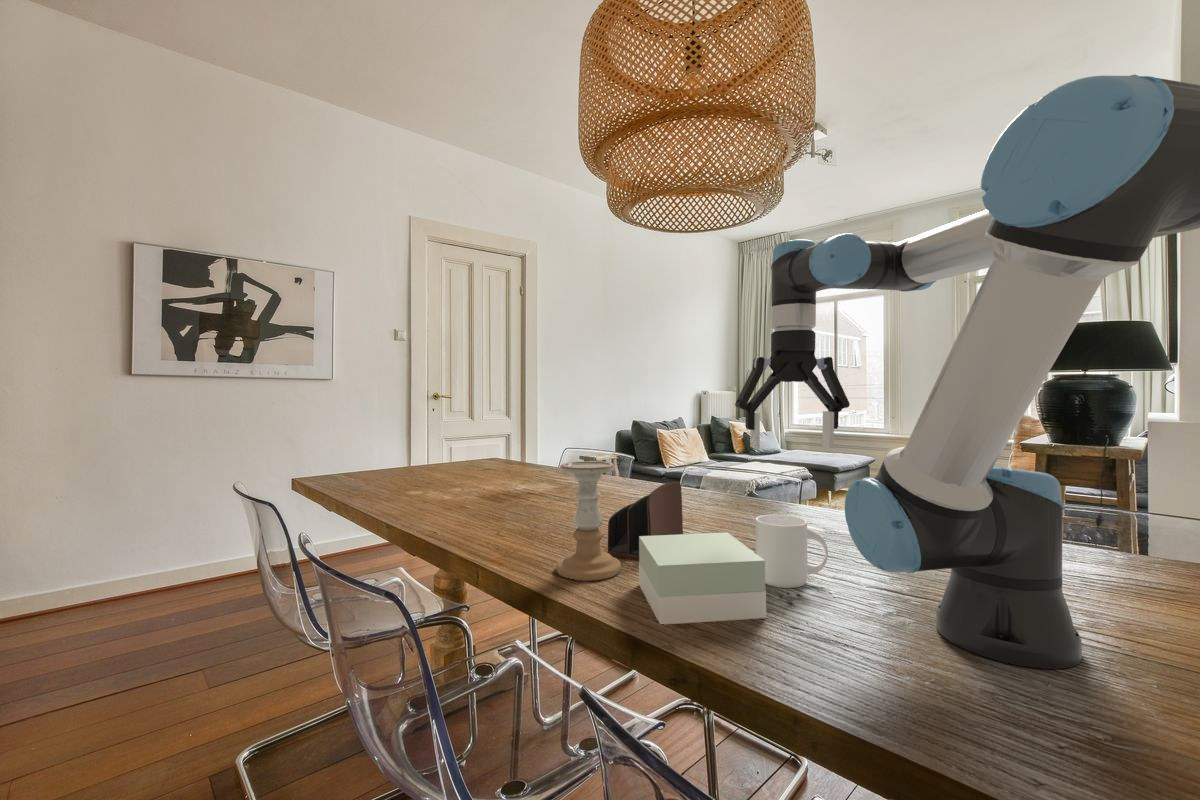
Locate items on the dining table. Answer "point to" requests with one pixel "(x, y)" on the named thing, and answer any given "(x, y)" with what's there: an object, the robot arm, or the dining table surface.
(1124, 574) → the dining table surface
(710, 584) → the tower top
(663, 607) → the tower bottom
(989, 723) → the dining table surface
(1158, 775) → the dining table surface
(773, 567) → the mug
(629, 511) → the letter holder
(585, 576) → the candle holder
